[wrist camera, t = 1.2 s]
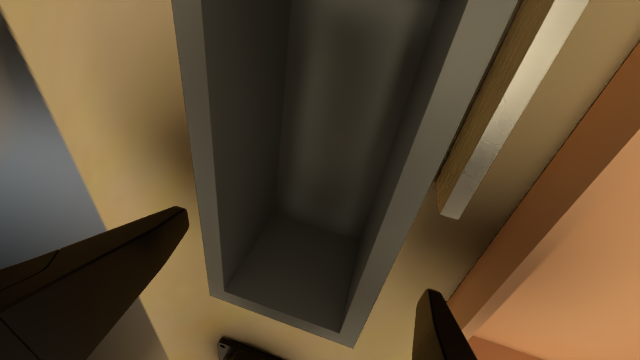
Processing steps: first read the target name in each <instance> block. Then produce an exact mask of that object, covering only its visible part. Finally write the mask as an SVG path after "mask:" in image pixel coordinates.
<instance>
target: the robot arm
mask: <svg viewBox="0 0 640 360" xmlns="http://www.w3.org/2000/svg"><path fill="white" fill-rule="evenodd" d="M188 228H189V219H188V213H187V210H186V209H185V208H182V207H179V206H174V207H171V208H168V209H165V210H163V211H160V212H157V213H155V214H152V215H149V216H147V217H144V218H141V219H138V220H136V221H133V222H130V223H128V224H125V225H122V226H120V227H117V228H114V229H112V230H109V231H106V232H104V233H101V234H98V235H95V236H93V237H90V238H88V239H85V240H82V241H79V242H77V243H74V244H71V245H68V246H66V247H63V248H61V249H60V250H55V251H52V252H49V253H47V254H44V255H41V256H39V257H36V258H33V259H30V260H27V261H24V262H22V263H19V264H15V265H12V266H9V267H6V268H4V269H0V360H86V359H87V358H88V357H89V355H90V354H91V353H92V352H93V351H94V349H95V348H96V347H97V346H98V345H99V343H100V342H101V341H102V340H103V339H104V337H105V336H106V335H107V334H108V332H109V331H110V330H111V329H112V328H113V326H114V325H115V324H116V323H117V322H118V320H119V319H120V318H121V317H122V316H123V314H124V313H125V312H126V311H127V310H128V308H129V307H130V306H131V305H132V303H133V302H134V301H135V300H136V298H137V297H138V296H139V295H140V294H141V293H142V291H143V290H144V289H145V288H146V286H147V285H148V284H149V283H150V282H151V280H152V279H153V278H154V277H155V276H156V274H157V273H158V272H159V271H160V270H161V268H162V267H163V266H164V264H165V263H166V262H167V260H168V259H169V257H170V256H171V254H172V253H173V251H174V250H175V248H176V247H177V245H178V244H179V242H180V241H181V239H182V238H183V236H184V235H185V233H186V232H187V230H188ZM217 346H218V354H219V360H278V359H275V358H273V357H270V356H268V355H265V354H263V353H260V352H257V351H255V350H252V349H250V348H247V347H245V346H242V345H240V344H237V343H234V342H232V341H229V340H227V339H224V338H221V339H220V340H219V342H218V344H217ZM412 360H478V359H477V357H476V356H475V354H474V352H473V350H472V348H471V347H470V345H469V343H468V341H467V339H466V338H465V336H464V334H463V332H462V330H461V329H460V327H459V325H458V323H457V321H456V320H455V318H454V316H453V314H452V312H451V310H450V309H449V307H448V305H447V303H446V301H445V300H444V298H443V296H442V294H441V293H440V292H438V291H436V290H433V289H429V288H428V289H426V290H425V292H424V293H423V295H422V296H421V298H420V300H419V301H418V304H417V308H416V318H415V328H414V339H413V350H412Z"/></svg>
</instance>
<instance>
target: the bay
mask: <svg viewBox="0 0 640 360" xmlns="http://www.w3.org/2000/svg"><path fill="white" fill-rule="evenodd" d="M588 2H589V0H523V2H522V4H521V6H520V8H519V11H518V13H517V15H516V17H515V19H514V21H513V23H512V25H511V27H510V29H509V31H508V33H507V35H506V37H505V40H504V42H503V44H502V46H501V48H500V50H499V52H498V54H497V56H496V58H495V60H494V62H493V64H492V66H491V69H490V71H489V73H488V75H487V77H486V79H485V81H484V83H483V85H482V87H481V89H480V91H479V93H478V95H477V98H476V100H475V102H474V104H473V106H472V108H471V110H470V112H469V114H468V116H467V118H466V120H465V122H464V125H463V127H462V129H461V131H460V133H459V135H458V137H457V139H456V141H455V143H454V145H453V147H452V149H451V151H450V154H449V156H448V158H447V160H446V162H445V164H444V166H443V168H442V170H441V172H440V174H439V176H438V178H437V180H436V183H435V185H436V192H437V199H438V206H439V213H440V215H443V216H446V217H450V218H453V219H457V220H458V219H459V218H460V216H461V214H462V213H463V211H464V209H465V208H466V206H467V204H468V203H469V201H470V199H471V198H472V196H473V194H474V193H475V191H476V189H477V188H478V186H479V184H480V183H481V181H482V179H483V178H484V176H485V174H486V173H487V171H488V169H489V168H490V166H491V164H492V163H493V161H494V159H495V158H496V156H497V154H498V153H499V151H500V149H501V148H502V146H503V144H504V143H505V141H506V139H507V138H508V136H509V134H510V133H511V131H512V129H513V127H514V126H515V124H516V122H517V121H518V119H519V117H520V116H521V114H522V112H523V111H524V109H525V107H526V106H527V104H528V102H529V101H530V99H531V97H532V96H533V94H534V92H535V91H536V89H537V87H538V86H539V84H540V82H541V81H542V79H543V77H544V76H545V74H546V72H547V71H548V69H549V67H550V66H551V64H552V62H553V61H554V59H555V57H556V56H557V54H558V52H559V51H560V49H561V47H562V46H563V44H564V42H565V40H566V39H567V37H568V35H569V34H570V32H571V30H572V29H573V27H574V25H575V24H576V22H577V20H578V19H579V17H580V15H581V14H582V12H583V10H584V9H585V7H586V5H587V4H588Z"/></svg>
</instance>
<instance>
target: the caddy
mask: <svg viewBox="0 0 640 360" xmlns="http://www.w3.org/2000/svg"><path fill="white" fill-rule="evenodd" d="M171 2H172V10H173V18H174V25H175V33H176V40H177V48H178V56H179V63H180V71H181V79H182V86H183V94H184V102H185V109H186V117H187V124H188V132H189V140H190V147H191V155H192V163H193V170H194V178H195V186H196V193H197V201H198V208H199V216H200V224H201V231H202V239H203V247H204V254H205V262H206V269H207V277H208V285H209V292H210V296H213V297H215V298H218V299H221V300H223V301H226V302H229V303H231V304H234V305H237V306H239V307H242V308H245V309H248V310H250V311H253V312H256V313H258V314H261V315H264V316H266V317H269V318H272V319H274V320H277V321H280V322H283V323H285V324H288V325H291V326H293V327H296V328H299V329H301V330H304V331H307V332H310V333H312V334H315V335H318V336H320V337H323V338H326V339H328V340H331V341H334V342H336V343H339V344H342V345H345V346H347V347H350V348H354V346H355V344H356V342H357V340H358V338H359V335H360V333H361V331H362V329H363V327H364V325H365V323H366V321H367V319H368V316H369V314H370V312H371V310H372V308H373V306H374V304H375V302H376V300H377V297H378V295H379V293H380V291H381V289H382V287H383V285H384V283H385V281H386V278H387V276H388V274H389V272H390V270H391V268H392V266H393V264H394V262H395V259H396V257H397V255H398V253H399V251H400V249H401V247H402V245H403V243H404V240H405V238H406V236H407V234H408V232H409V230H410V228H411V226H412V224H413V221H414V219H415V217H416V215H417V213H418V211H419V209H420V207H421V204H422V202H423V200H424V198H425V196H426V194H427V192H428V190H429V188H430V185H431V183H432V181H433V179H434V177H435V175H436V173H437V171H438V169H439V166H440V164H441V162H442V160H443V158H444V156H445V154H446V152H447V150H448V147H449V145H450V143H451V141H452V139H453V137H454V135H455V133H456V131H457V128H458V126H459V124H460V122H461V120H462V118H463V116H464V114H465V112H466V109H467V107H468V105H469V103H470V101H471V99H472V97H473V95H474V93H475V90H476V88H477V86H478V84H479V82H480V80H481V78H482V76H483V74H484V71H485V69H486V67H487V65H488V63H489V61H490V59H491V57H492V55H493V52H494V50H495V48H496V46H497V44H498V42H499V40H500V38H501V36H502V33H503V31H504V29H505V27H506V25H507V23H508V21H509V19H510V17H511V14H512V12H513V10H514V8H515V6H516V4H517V2H518V0H171Z"/></svg>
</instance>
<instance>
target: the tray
mask: <svg viewBox="0 0 640 360" xmlns="http://www.w3.org/2000/svg"><path fill="white" fill-rule="evenodd" d="M447 305H448V307H449V309H450V310H451V312H452V314H453V316H454V318H455V320H456V321H457V323H458V325H459V327H460V329H461V330H462V332H463V334H464V336H465V338H466V339H467V341H468V343H469V345H470V347H471V348H472V350H473V352H474V354H475V356H476V357H477V359H478V360H640V42H639V43H638V44H637V46H636V47H635V48H634V50H633V51H632V53H631V54H630V55H629V57H628V58H627V59H626V61H625V62H624V63H623V65H622V66H621V67H620V69H619V70H618V72H617V73H616V74H615V76H614V77H613V78H612V80H611V81H610V82H609V84H608V85H607V86H606V88H605V89H604V90H603V92H602V93H601V95H600V96H599V97H598V99H597V100H596V101H595V103H594V104H593V105H592V107H591V108H590V109H589V111H588V112H587V114H586V115H585V116H584V118H583V119H582V120H581V122H580V123H579V124H578V126H577V127H576V128H575V130H574V131H573V132H572V134H571V135H570V137H569V138H568V139H567V141H566V142H565V143H564V145H563V146H562V147H561V149H560V150H559V151H558V153H557V154H556V156H555V157H554V158H553V160H552V161H551V162H550V164H549V165H548V166H547V168H546V169H545V170H544V172H543V173H542V174H541V176H540V177H539V179H538V180H537V181H536V183H535V184H534V185H533V187H532V188H531V189H530V191H529V192H528V193H527V195H526V196H525V198H524V199H523V200H522V202H521V203H520V204H519V206H518V207H517V208H516V210H515V211H514V212H513V214H512V215H511V216H510V218H509V219H508V221H507V222H506V223H505V225H504V226H503V227H502V229H501V230H500V231H499V233H498V234H497V235H496V237H495V238H494V240H493V241H492V242H491V244H490V245H489V246H488V248H487V249H486V250H485V252H484V253H483V254H482V256H481V257H480V258H479V260H478V261H477V263H476V264H475V265H474V267H473V268H472V269H471V271H470V272H469V273H468V275H467V276H466V277H465V279H464V280H463V282H462V283H461V284H460V286H459V287H458V288H457V290H456V291H455V292H454V294H453V295H452V296H451V298H450V299H449V300H448V302H447Z"/></svg>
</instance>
